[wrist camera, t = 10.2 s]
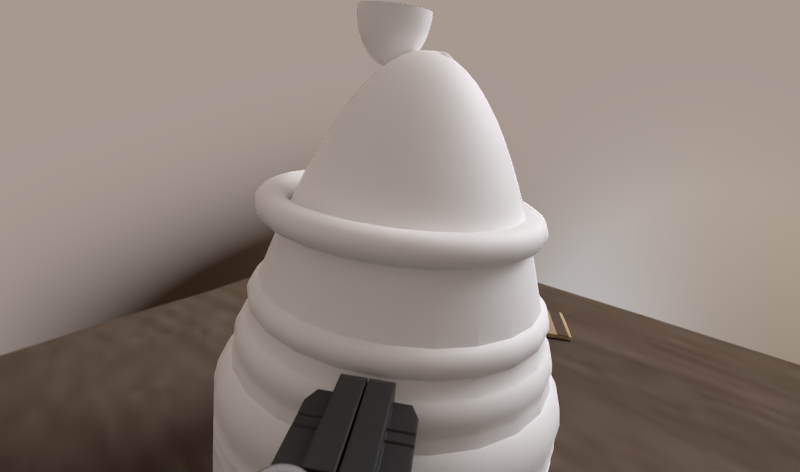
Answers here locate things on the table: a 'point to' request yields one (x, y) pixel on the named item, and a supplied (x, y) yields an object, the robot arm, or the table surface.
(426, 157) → the honey pot
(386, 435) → the robot arm
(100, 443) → the table surface
